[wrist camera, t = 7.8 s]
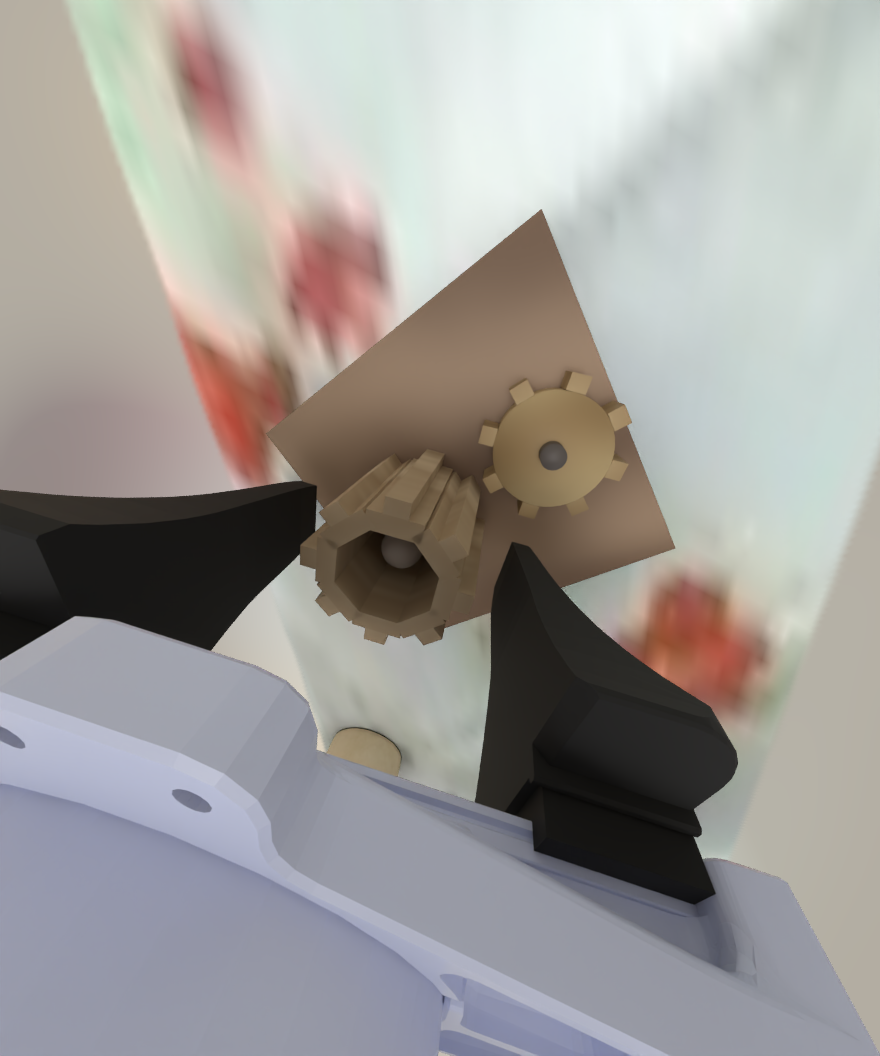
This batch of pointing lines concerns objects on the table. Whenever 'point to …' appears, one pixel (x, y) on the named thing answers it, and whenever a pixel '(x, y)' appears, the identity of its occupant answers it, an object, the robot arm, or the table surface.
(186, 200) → the table surface
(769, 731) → the table surface
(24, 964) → the robot arm
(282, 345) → the table surface
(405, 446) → the gear board
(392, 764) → the candle
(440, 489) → the maple gear
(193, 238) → the table surface
